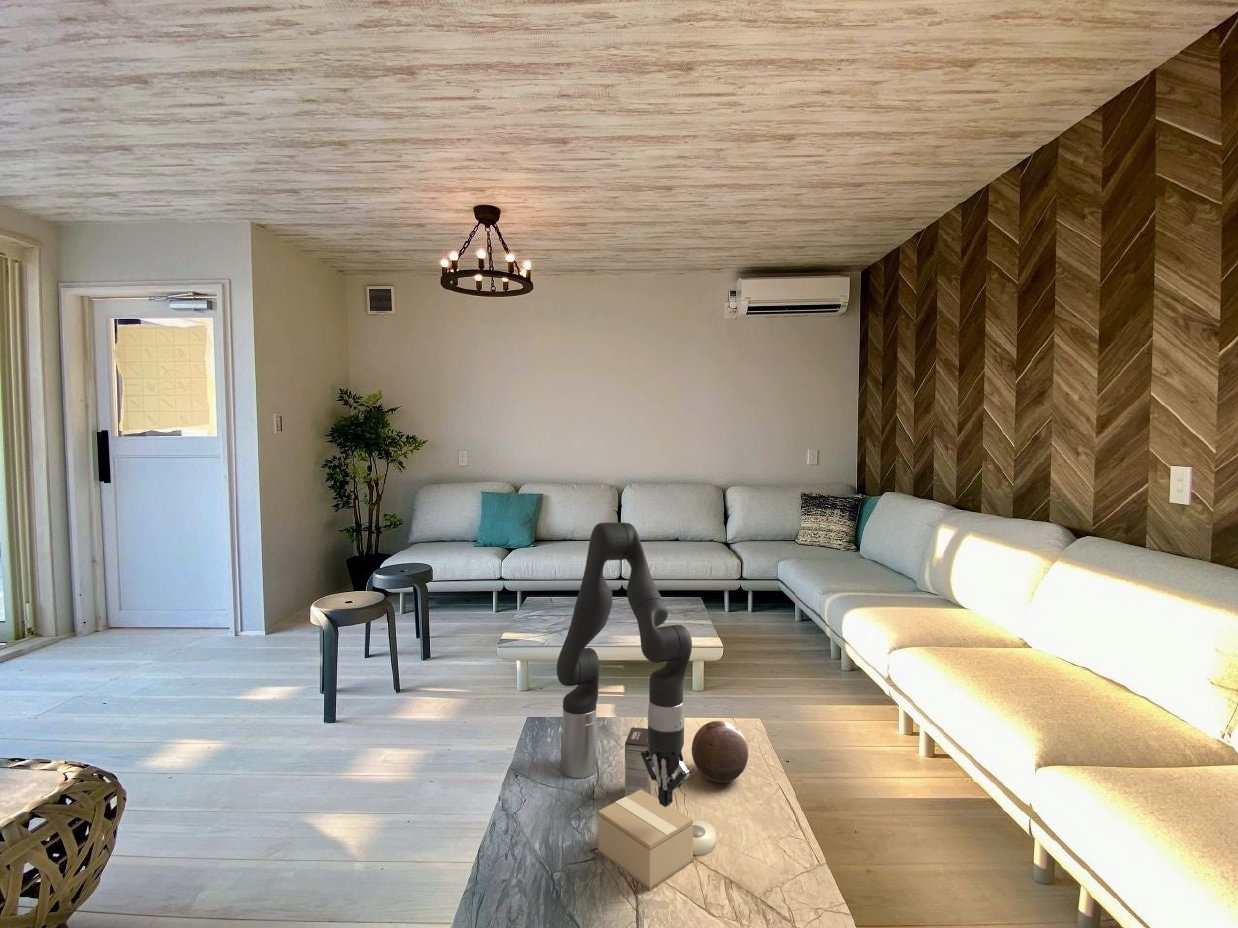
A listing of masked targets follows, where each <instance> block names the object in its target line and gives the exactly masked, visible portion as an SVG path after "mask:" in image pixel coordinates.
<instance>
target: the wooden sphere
mask: <svg viewBox="0 0 1238 928" xmlns="http://www.w3.org/2000/svg"><path fill="white" fill-rule="evenodd" d="M691 757H692V760H693V763H694V765H695V767H696V769H697V771H699V773H700V774H701V775H702V776H704V777H705V778H706V779H707V780H710V781H712V782H715V783H720V784H721V783H723V784H724V783H729V782H731V781H732V782H733V781H734V780H736V779H737V778H739V777H740V776H741V774H742V773H744V770H745V769H746V766H747V764H748V760H749V748H748V743H747V741H746V739H745V736H744V735H743V733H742V732H741V731H740V730H739V729H738V728H737V727H736V726H735V725H733V724H732V723H729V722H727V721H722V720H714V721H710V722H707V723H706V724H703V725H702V726H701V727H700V728H699V729H698V730H697V731H696V733H695V735H694V736H693V739H692V743H691Z"/></svg>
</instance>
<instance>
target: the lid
mask: <svg viewBox="0 0 1238 928" xmlns="http://www.w3.org/2000/svg"><path fill="white" fill-rule="evenodd" d="M597 814H598V815H600V816H601V817H603V818H604V819H606V820H607V821H609V822H610V823H612V824H613V825H614V826H616V827H617V828H619V829H620V830H622V831H623V832H625V833H626V834H628V835H629V836H631V837H632V838H634V839H635V840H637V841H638V842H640V843H641V844H643V845H644V846H645V847H647V848H648V849H652V848H654V847H655V846H657V845H659V844H660V843H662V842H663V841H665V840H667V839H668V838H670V837H672V836H673V835H675V834H677V833H678V832H680V831H682V830H683V829H685V828H687V827H688V826H690V825H691V824H693V820H694V819H692V818H691V817H689V816H688V815H686V814H684V813H682V812H681V811H679V810H677V809H676V808H674V807H673V806H671V805H669V806H667V807H664V806H662V805H660V804H659V799H658V797H655V796H654V795H653V796H651V795H650V794H648V793H646V792H645V791H643V790H639V791H637V792H635V793H633V794H631V795H629V796H627V797H625V796H624V797H622V798H620V799H618V800H616V801H614V802H613V803H611V804H609V805H607V806H605V807H604V808H601V809H599V810H598V813H597Z"/></svg>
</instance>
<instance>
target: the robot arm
mask: <svg viewBox="0 0 1238 928" xmlns="http://www.w3.org/2000/svg"><path fill="white" fill-rule="evenodd" d="M587 549H588V550H587V556H586V561H585V562H586V563H585V568H584V571H583V572H584V573H583V576H582V581H581V584H580V588H579V592H578V595H577V598H576V601H575V605H574V609H573V614H572V617H571V621H570V625H569V628H568V631H567V635H566V637H565V640H564V642H563V644H562V646H561V649H560V652H559V655H558V658H557V663H556V664H557V665H556V675H557V680H558V681H559V683H560V685H562V686H564V687H574V686H576V687H575V688H574V689H573V690H571V691H569V693H567V694H566V695H565V696H564V697H563V700H562V731H561V733H560V768H561V769H562V772H563V774H564V775H566V776H567V777H570V778H574V779H575V778H576V779H583V778H588V777H590V776H592V775H593V774H595V772H596V771H597V701H598V699H599V698H598V697H599V687H600V686H599V682H600V660H599V657H598V654H597V652H596V650H595V649H594V648H592V647H587V646H588V645H589V644H590V643H591V642H592V641H593V639H595V637H597V636H598V635H599V634H600V633H601V632H602V630H603V629H604V628H605V627H606V624H607V622H608V620H609V617H610V614H611V610H612V606H613V603H614V601H613V595H612V592H611V590H610V588H609V585H608V582H606V579H605V577H604V566H605V564H606V562H607V561H625V560H626V562H627V563H628V564H629V566H630V574H629V579H628V582H627V586H626V597H627V601H628V604H629V606H630V608H631V610H632V612H633V614H634V616H635V617H634V618H635V619H636V621H637V627H638V631H639V638H640V647H641V648H640V649H641V653H642V654H643V657H645V658H646V660H647V661H649V662H650V663H654V664H659V663H663V662H666V663H665V665H664V666H662V667H660V668H659V669H657V670H654V671H653V672H652V673H651V675H650V676H649V687H648V688H649V689H648V691H649V694H648V695H649V698H648V700H649V701H648V708H647V729H648V744H649V749H647V750H645V751H643V752H641V756H642V758H643V761H644V763H645V765H646V768H647V770H648V772H649V775H650V777H651V779H652V780H653V781H654V780H655V783H656V785H657V792H658V793H657V795H658V797H657V799H658V800H659V804H660V805H662V806H664V807H667V806H671V804H672V803H673V801H674V799H673V797H674V794H673V791H674V790H676V789H678V788H680V787H681V786H683V785H684V783H685V782H686V780H687V779H688V778H689V777H691V775H692V774H693V772H692V769H691V768H690V767H686V765H685V764H684V757H683V753H682V750H683V748H684V745H685V707H684V682H685V681H684V680H685V677H686V673H687V670H688V665H689V662H690V659H691V655H692V649H693V641H692V639H693V638H692V637H691V634H690V632H689V630H688V629H687V628H686V627H685V626H684V625H682V624H672V625H664V626H661V625H662V624H664V623H665V622H666V620H667V619H668V616H669V611H668V607H667V605H666V603H665V601H664V600H663V598H662V596H661V594H660V592H659V589H658V588H657V586H656V584H655V582H654V579H653V577H652V574H651V571H650V567H649V564H648V562H647V558H646V553H645V552H644V548H643V545H642V541H641V539H640V535H639V533H638V532H637V529H636V527H635V525H633V524H632V523H630V522H623V521H622V522H621V521H620V522H599V523H597V524H596V525H594V528H593V529H592V532H591V534H590V538H589V544H588V548H587ZM652 767H654V771H653V768H652Z"/></svg>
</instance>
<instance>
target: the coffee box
mask: <svg viewBox="0 0 1238 928" xmlns="http://www.w3.org/2000/svg"><path fill="white" fill-rule="evenodd" d="M647 749H649V744H648V727H647V728H644V727H630V729H629V733H628V735H627V737H626V740H625V742H624V797H627V796H629V795H631V794H633V793H635V792H637V791H639V790H643V791H645V792H646V793H648V794H650V795H651V796H653V797H654V793H655V790H656V787H655V786H656V785H655V783H656V781H655V780H654V781H653V780H652V779H651V777H650V775H649V772H648V770H647V768H646V765H645V763H644V761H643V758H642V756H641V752H643V751H645V750H647ZM652 768H653V771H654V767H652Z"/></svg>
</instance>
